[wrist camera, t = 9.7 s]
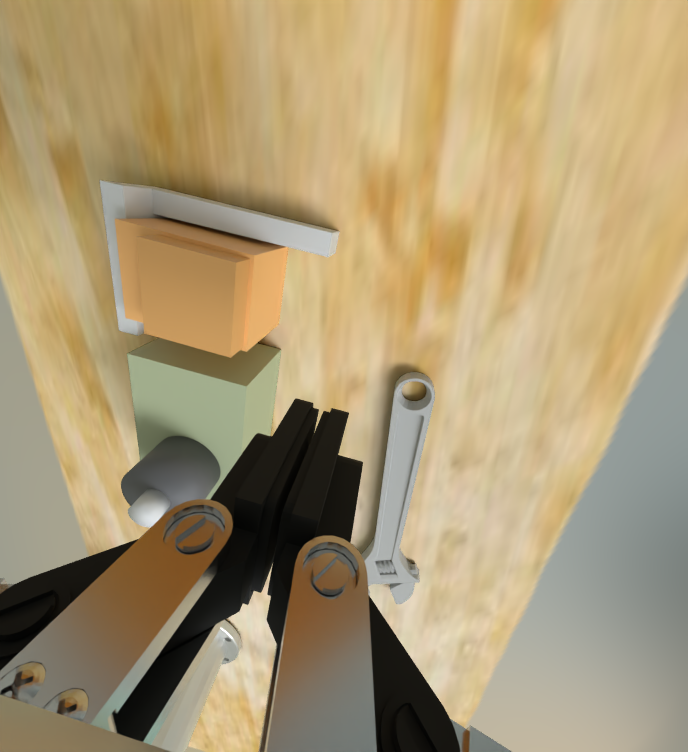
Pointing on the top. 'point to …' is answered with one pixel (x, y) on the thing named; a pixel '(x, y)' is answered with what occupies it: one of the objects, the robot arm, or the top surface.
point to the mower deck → (195, 364)
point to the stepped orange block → (200, 283)
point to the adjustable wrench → (399, 490)
